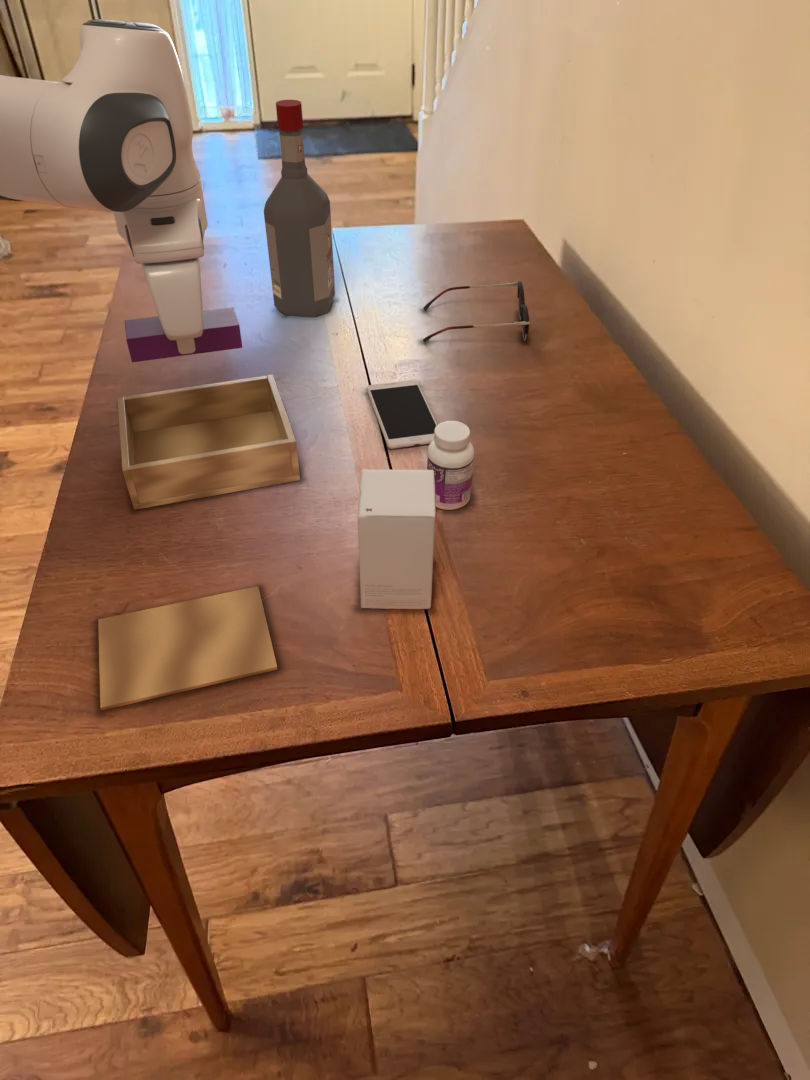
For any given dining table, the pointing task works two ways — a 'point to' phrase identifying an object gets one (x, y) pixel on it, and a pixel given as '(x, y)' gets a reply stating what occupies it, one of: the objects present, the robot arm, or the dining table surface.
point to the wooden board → (183, 647)
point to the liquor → (298, 227)
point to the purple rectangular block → (153, 343)
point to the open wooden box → (205, 441)
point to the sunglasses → (522, 314)
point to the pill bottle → (451, 464)
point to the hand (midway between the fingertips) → (184, 338)
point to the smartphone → (402, 413)
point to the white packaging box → (396, 538)
